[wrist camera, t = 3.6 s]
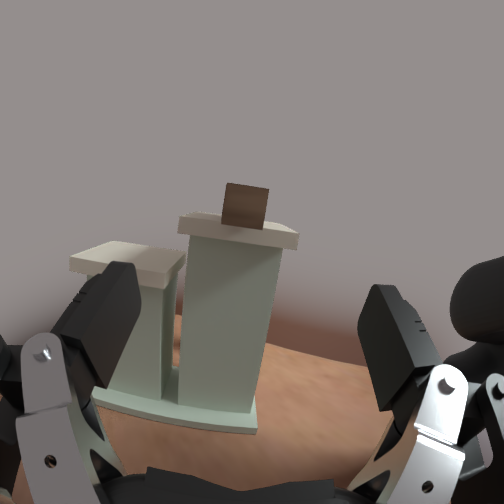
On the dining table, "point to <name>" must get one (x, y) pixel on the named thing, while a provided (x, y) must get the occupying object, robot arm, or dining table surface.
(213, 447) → the dining table surface
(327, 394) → the dining table surface
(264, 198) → the walnut leg
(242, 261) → the step stand
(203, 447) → the dining table surface
